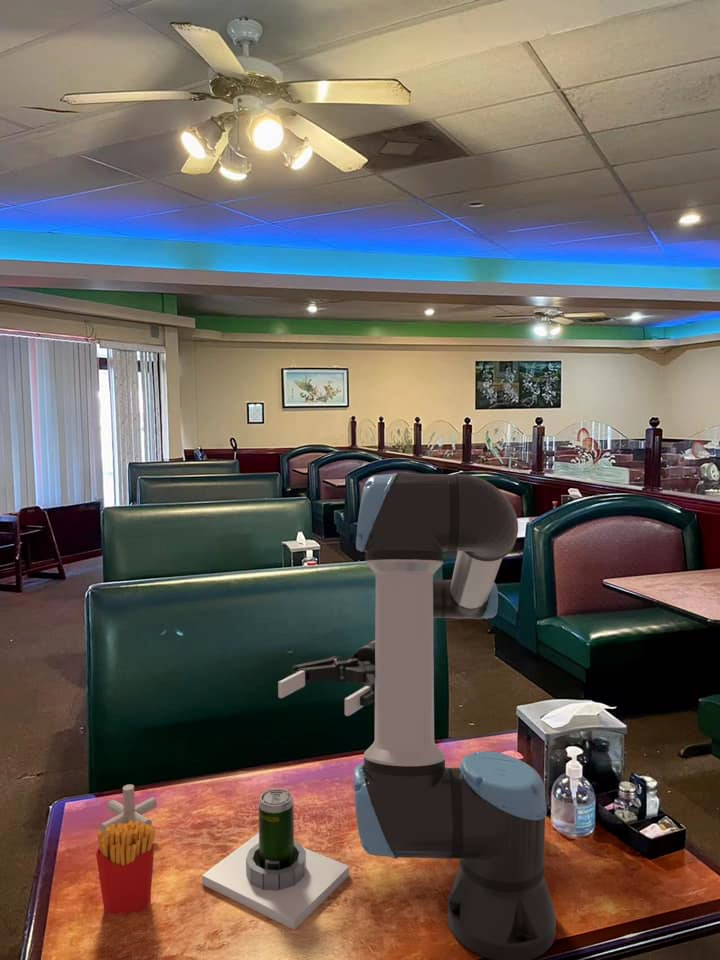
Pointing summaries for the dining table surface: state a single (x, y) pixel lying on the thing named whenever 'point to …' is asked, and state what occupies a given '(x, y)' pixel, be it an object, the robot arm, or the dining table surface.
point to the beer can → (276, 830)
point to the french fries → (126, 866)
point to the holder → (277, 882)
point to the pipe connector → (129, 809)
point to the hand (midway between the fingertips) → (312, 698)
